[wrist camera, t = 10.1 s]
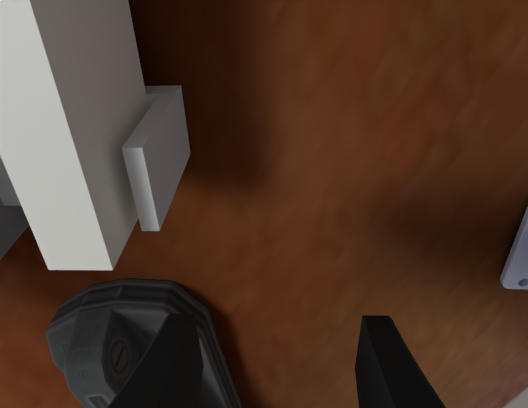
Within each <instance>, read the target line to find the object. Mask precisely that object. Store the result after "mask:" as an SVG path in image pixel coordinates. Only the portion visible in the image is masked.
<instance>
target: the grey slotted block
mask: <svg viewBox="0 0 528 408" xmlns="http://www.w3.org/2000/svg"><path fill="white" fill-rule="evenodd" d="M145 91H146V97H147V102H148V107H149V110H148V112H147V113H146V114H145V116H144V117H143V119H142V120H141V121H140V123H139V124H138V126H137V127H136V128H135V130H134V131H133V133H132V134H131V136H130V137H129V138H128V140H127V141H126V143H125V144H124V145H123V147H122V152H123V156H124V160H125V164H126V168H127V172H128V176H129V181H130V185H131V189H132V193H133V197H134V201H135V205H136V210H137V214H138V218H139V222H140V226H141V230H142V231H160V229H161V227H162V224H163V222H164V219H165V217H166V214H167V212H168V209H169V207H170V204H171V201H172V199H173V196H174V194H175V191H176V189H177V186H178V184H179V181H180V179H181V176H182V174H183V171H184V169H185V166H186V164H187V161H188V159H189V156H190V154H191V153H190V145H189V138H188V131H187V124H186V117H185V110H184V103H183V96H182V89H181V85H171V86H145ZM28 226H29V222H28V220H27V218H26V215H25V213H24V211H23V208H22V206H21V204H20V201H19V199H18V196H17V194H16V192H15V189H14V187H13V185H12V182H11V180H10V178H9V175H8V173H7V170H6V168H5V166H4V163H3V161H2V159H1V156H0V260H1V259H2V257H3V256H4V255H5V254H6V253H7V251H8V250H9V249H10V248H11V247H12V245H13V244H14V243H15V242H16V241H17V239H18V238H19V237H20V236H21V235H22V233H23V232H24V231H25V230H26V229H27V227H28Z"/></svg>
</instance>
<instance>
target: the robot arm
mask: <svg viewBox="0 0 528 408" xmlns="http://www.w3.org/2000/svg"><path fill="white" fill-rule="evenodd" d="M522 279H523V280H522ZM520 280H521V281H520ZM500 282H501V283H502V285H503V287H505V288H506V289H528V206H527V209H526V212H525V214H524V217H523V219H522V222H521V225H520V227H519V230H518V232H517V235H516V238H515V240H514V243H513V245H512V248H511V251H510V253H509V256H508V258H507V261H506V264H505V266H504V269H503V271H502V274H501V277H500ZM203 366H204V365H203V359H202V354H201V348H200V342H199V337H198V331H197V326H196V320H195V314H169V315H168V316H167V317H166V318H165V320H164V322H163V324H162V325H161V327H160V329H159V330H158V332H157V334H156V335H155V337H154V339H153V340H152V342H151V344H150V345H149V347H148V348H147V350H146V352H145V353H144V355H143V356H142V358H141V359H140V361H139V362H138V364H137V366H136V367H135V368H134V370H133V371H132V373H131V374H130V376H129V377H128V379H127V380H126V382H125V383H124V385H123V386H122V387H121V389H120V390H119V392H118V393H117V395H116V396H115V397H114V399H113V400H112V402H111V403H110V404H109V406H108V407H107V408H198V406H199V399H200V391H201V383H202V374H203ZM355 373H356V382H357V392H358V400H359V408H446V407H445V406H444V404H443V403H442V401H441V400H440V398H439V397H438V395H437V394H436V392H435V391H434V389H433V388H432V386H431V385H430V383H429V382H428V380H427V379H426V377H425V376H424V374H423V372H422V371H421V369H420V368H419V366H418V364H417V363H416V361H415V359H414V358H413V356H412V354H411V353H410V351H409V349H408V348H407V346H406V344H405V342H404V341H403V339H402V337H401V335H400V333H399V332H398V330H397V328H396V326H395V324H394V322H393V320H392V319H391V318H390V317H389V316H362V323H361V330H360V337H359V343H358V350H357V357H356V364H355Z"/></svg>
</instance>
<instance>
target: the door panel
mask: <svg viewBox="0 0 528 408" xmlns="http://www.w3.org/2000/svg"><path fill="white" fill-rule="evenodd" d="M148 110H149V107H148V102H147V97H146V91H145V86H144V81H143V76H142V70H141V65H140V60H139V55H138V49H137V44H136V39H135V34H134V28H133V23H132V18H131V13H130V7H129V2H128V0H0V156H1V159H2V161H3V163H4V166H5V168H6V170H7V173H8V175H9V178H10V180H11V182H12V185H13V187H14V189H15V192H16V194H17V196H18V199H19V201H20V204H21V206H22V208H23V211H24V213H25V215H26V218H27V220H28V222H29V225H30V227H31V230H32V232H33V234H34V237H35V239H36V241H37V244H38V246H39V248H40V251H41V253H42V256H43V258H44V260H45V263H46V265H47V267H48V270H113V269H114V267H115V265H116V263H117V261H118V259H119V257H120V255H121V253H122V251H123V249H124V247H125V245H126V243H127V240H128V238H129V236H130V234H131V232H132V230H133V228H134V226H135V224H136V222H137V220H138V214H137V210H136V205H135V201H134V197H133V193H132V189H131V185H130V181H129V176H128V172H127V168H126V164H125V160H124V156H123V152H122V147H123V145H124V144H125V143H126V141H127V140H128V138H129V137H130V136H131V134H132V133H133V131H134V130H135V128H136V127H137V126H138V124H139V123H140V121H141V120H142V119H143V117H144V116H145V114H146V113H147V112H148Z"/></svg>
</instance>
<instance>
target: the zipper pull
mask: <svg viewBox="0 0 528 408" xmlns="http://www.w3.org/2000/svg"><path fill="white" fill-rule="evenodd" d="M169 314H195V320H196V326H197V331H198V337H199V342H200V348H201V354H202V359H203V365H204V366H203V374H202V383H201V391H200V399H199V406H198V408H242V404H241V402H240V399H239V396H238V393H237V391H236V388H235V385H234V382H233V380H232V377H231V374H230V371H229V369H228V366H227V363H226V360H225V358H224V355H223V352H222V350H221V347H220V344H219V341H218V338H217V335H216V332H215V329H214V326H213V323H212V320H211V317H210V314H209V311H208V309H207V308H206V307H205V306H203V305H202V304H201V303H200V302H198V301H197V300H196V299H195V298H193V297H192V296H191V295H190V294H188V293H187V292H186V291H185V290H184V289H182V288H181V287H180V286H179V285H177V284H176V283H175V282H173V281H164V280H148V279H132V278H125V279H120V280H115V281H110V282H105V283H100V284H95V285H91V286H90V287H88V288H86V289H84V290H83V291H81V292H79V293H78V294H76V295H74V296H72V297H71V298H69V299H67V300H66V301H64V302H63V303H62V304H61V306H60V307H59V309H58V311H57V312H56V314H55V316H54V318H53V319H52V321H51V323H50V325H49V326H48V328H47V330H46V338H47V342H48V345H49V349H50V352H51V356H52V360H53V363H54V364H55V365H56V366H57V367H58V368H59V369H60V370H61V371H62V372H63V373H65V378H66V383H67V386H68V388H69V390H70V391H71V392H72V393H73V395H74V396H75V397H76V398H77V399H78V400H79V402H80V403H81V404H82V405H83V406H84V408H107V407H108V406H109V404H110V403H111V402H112V400H113V399H114V397H115V396H116V395H117V393H118V392H119V390H120V389H121V387H122V386H123V385H124V383H125V382H126V380H127V379H128V377H129V376H130V374H131V373H132V371H133V370H134V368H135V367H136V366H137V364H138V362H139V361H140V359H141V358H142V356H143V355H144V353H145V352H146V350H147V348H148V347H149V345H150V344H151V342H152V340H153V339H154V337H155V335H156V334H157V332H158V330H159V329H160V327H161V325H162V324H163V322H164V320H165V318H166V317H167V316H168V315H169Z"/></svg>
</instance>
